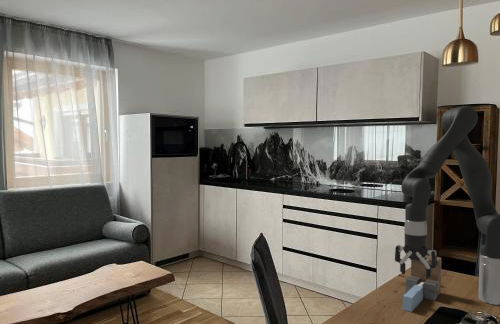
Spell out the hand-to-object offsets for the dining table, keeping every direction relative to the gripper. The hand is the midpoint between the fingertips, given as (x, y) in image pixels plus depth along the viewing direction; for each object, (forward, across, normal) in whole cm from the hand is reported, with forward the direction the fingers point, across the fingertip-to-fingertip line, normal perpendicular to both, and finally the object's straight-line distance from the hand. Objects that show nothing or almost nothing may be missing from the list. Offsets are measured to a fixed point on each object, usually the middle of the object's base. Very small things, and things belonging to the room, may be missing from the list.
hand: (415, 276), depth 141 cm
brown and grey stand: (+11, 0, -13) cm, 17 cm away
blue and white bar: (+11, +1, -2) cm, 11 cm away
